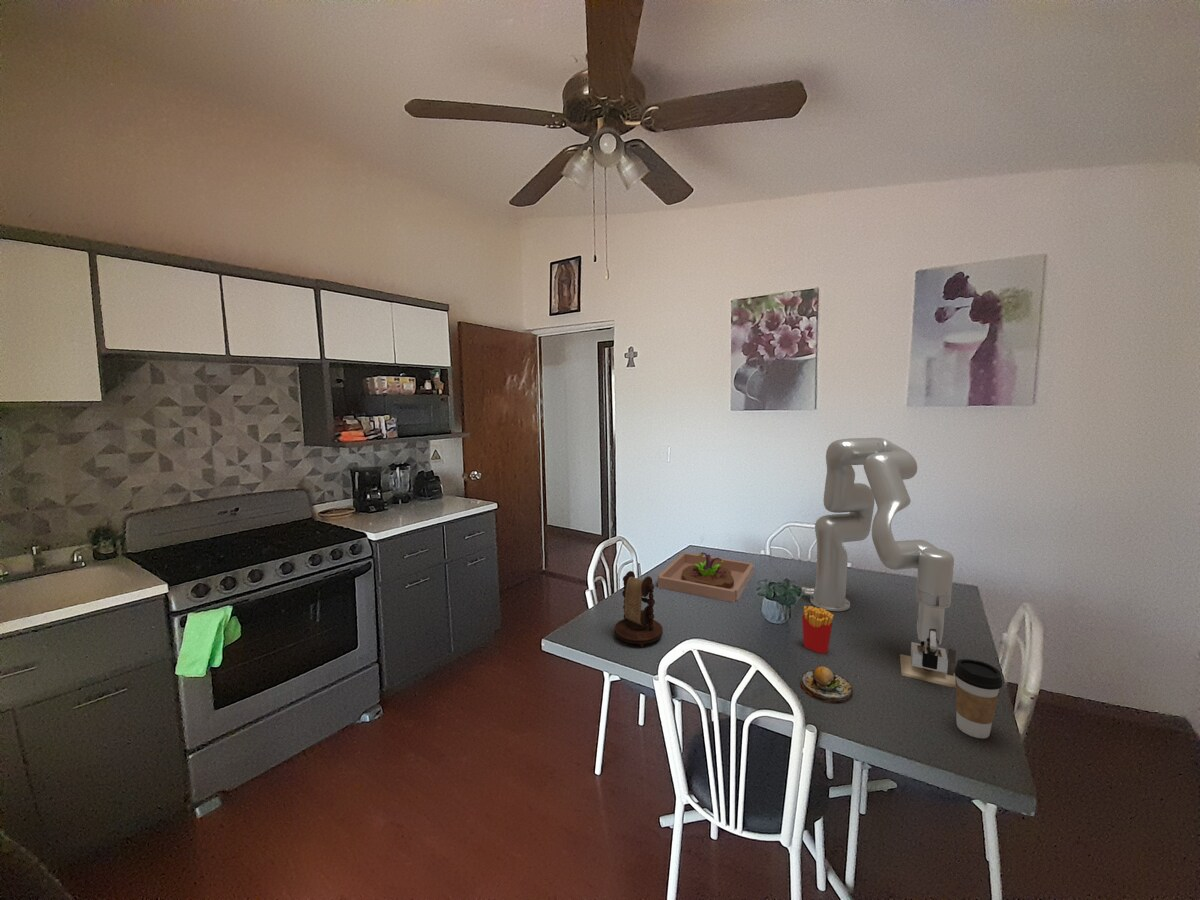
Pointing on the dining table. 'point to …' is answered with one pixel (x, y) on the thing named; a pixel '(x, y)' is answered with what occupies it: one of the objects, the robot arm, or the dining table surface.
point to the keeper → (927, 674)
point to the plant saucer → (673, 581)
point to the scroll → (638, 612)
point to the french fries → (817, 629)
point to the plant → (708, 573)
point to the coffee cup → (976, 696)
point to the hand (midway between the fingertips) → (928, 660)
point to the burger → (826, 686)
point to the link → (918, 657)
